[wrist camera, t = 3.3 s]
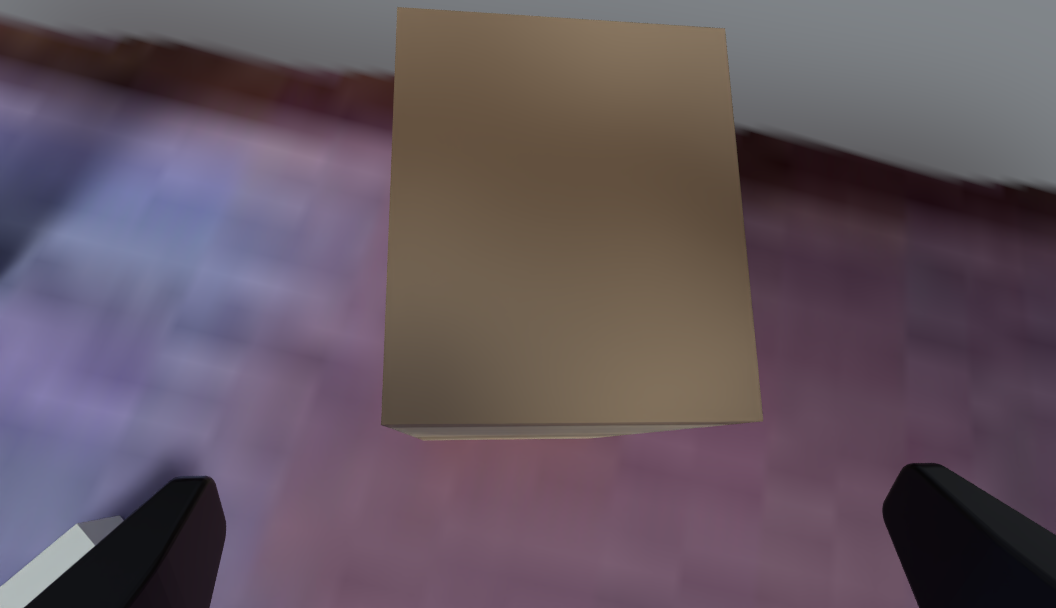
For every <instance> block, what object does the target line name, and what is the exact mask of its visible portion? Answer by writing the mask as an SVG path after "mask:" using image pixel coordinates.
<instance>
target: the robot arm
mask: <svg viewBox="0 0 1056 608" xmlns="http://www.w3.org/2000/svg"><path fill="white" fill-rule="evenodd" d="M882 512H883V519H884V522H885V525H886V527H887V530H888V532H889V535H890V537H891V540H892V542H893V544H894V547H895V549H896V552H897V554H898V557H899V559H900V562H901V564H902V567H903V569H904V572H905V574H906V577H907V579H908V581H909V584H910V586H911V589H912V591H913V594H914V596H915V599H916V601H917V604H918V606H919V608H1056V535H1055V534H1053V533H1051V532H1050V531H1048V530H1047V529H1045V528H1043V527H1042V526H1040V525H1038V524H1037V523H1035V522H1034V521H1032V520H1030V519H1029V518H1027V517H1025V516H1024V515H1022V514H1021V513H1019V512H1017V511H1016V510H1014V509H1012V508H1011V507H1009V506H1008V505H1006V504H1004V503H1003V502H1001V501H1000V500H998V499H996V498H995V497H993V496H991V495H990V494H988V493H987V492H985V491H983V490H982V489H980V488H978V487H977V486H975V485H974V484H972V483H970V482H969V481H967V480H965V479H964V478H962V477H961V476H959V475H957V474H956V473H954V472H953V471H951V470H949V469H948V468H946V467H944V466H942V465H940V464H936V463H911V464H907V465H906V466H904V467H903V468H902V470H901V471H900V473H899V475H898V477H897V478H896V480H895V482H894V484H893V486H892V488H891V489H890V491H889V493H888V495H887V497H886V499H885V500H884V503H883V508H882ZM225 537H226V520H225V516H224V512H223V509H222V505H221V502H220V498H219V494H218V491H217V487H216V484H215V482H214V480H213V479H212V478H211V477H208V476H181V477H176V478H174V479H172V480H170V481H169V482H168V483H167V484H165V485H164V486H163V487H162V488H161V489H160V490H158V491H157V492H156V493H155V494H154V495H153V496H152V497H150V498H149V499H148V500H147V501H146V502H145V503H144V504H142V505H141V506H140V507H139V508H138V509H137V510H135V511H134V512H133V513H132V514H131V515H130V516H129V517H127V518H126V519H125V520H124V521H123V522H122V523H120V524H119V525H118V526H117V527H116V528H115V529H114V530H112V531H111V532H110V533H109V534H108V535H107V536H105V537H104V538H103V539H102V540H101V541H100V542H99V543H97V544H96V545H95V546H94V547H93V548H92V549H91V550H89V551H88V552H87V553H86V554H85V555H84V556H82V557H81V558H80V559H79V560H78V561H77V562H76V563H74V564H73V565H72V566H71V567H70V568H69V569H67V570H66V571H65V572H64V573H63V574H62V575H61V576H59V577H58V578H57V579H56V580H55V581H54V582H52V583H51V584H50V585H49V586H48V587H47V588H46V589H44V590H43V591H42V592H41V593H40V594H39V595H38V596H36V597H35V598H34V599H33V600H32V601H31V602H29V603H28V604H27V605H26V606H25V607H24V608H209V607H210V603H211V599H212V594H213V590H214V586H215V581H216V577H217V573H218V568H219V564H220V560H221V555H222V551H223V547H224V542H225Z"/></svg>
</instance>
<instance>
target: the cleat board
mask: <svg viewBox="0 0 1056 608" xmlns="http://www.w3.org/2000/svg"><path fill="white" fill-rule="evenodd" d="M123 521H124V520H123V519H122V518H121V517H120V515H119V516H114V517H109V518H104V519H98V520H93V521H88V522H83V523H77V524H76V525H74V526H73V527H72V528H71V529H70V530H68V531H67V532H66V533H65V534H64V535H62V536H61V537H60V538H59V539H58V540H56V541H55V542H54V543H53V544H52V545H50V546H49V547H48V548H47V549H46V550H44V551H43V552H42V553H41V554H40V555H38V556H37V557H36V558H35V559H34V560H32V561H31V562H30V563H29V564H28V565H26V566H25V567H24V568H23V569H22V570H20V571H19V572H18V573H17V574H16V575H14V576H13V577H12V578H11V579H9V580H8V581H7V582H6V583H5V584H3V585H2V586H1V587H0V608H24V607H25V606H26V605H27V604H28V603H29V602H31V601H32V600H33V599H34V598H35V597H36V596H38V595H39V594H40V593H41V592H42V591H43V590H44V589H46V588H47V587H48V586H49V585H50V584H51V583H52V582H54V581H55V580H56V579H57V578H58V577H59V576H61V575H62V574H63V573H64V572H65V571H66V570H67V569H69V568H70V567H71V566H72V565H73V564H74V563H76V562H77V561H78V560H79V559H80V558H81V557H82V556H84V555H85V554H86V553H87V552H88V551H89V550H91V549H92V548H93V547H94V546H95V545H96V544H97V543H99V542H100V541H101V540H102V539H103V538H104V537H105V536H107V535H108V534H109V533H110V532H111V531H112V530H114V529H115V528H116V527H117V526H118V525H119V524H120V523H122V522H123Z"/></svg>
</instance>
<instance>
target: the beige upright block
mask: <svg viewBox="0 0 1056 608" xmlns="http://www.w3.org/2000/svg"><path fill="white" fill-rule="evenodd" d="M760 421H763V415H762V404H761V394H760V384H759V373H758V363H757V353H756V343H755V332H754V322H753V312H752V302H751V291H750V281H749V271H748V260H747V250H746V240H745V230H744V219H743V209H742V199H741V189H740V178H739V168H738V158H737V147H736V137H735V127H734V117H733V106H732V97H731V86H730V76H729V66H728V55H727V46H726V34H725V28H710V27H694V26H679V25H678V26H677V25H664V24H648V23H633V22H617V21H601V20H586V19H571V18H556V17H555V18H554V17H540V16H525V15H510V14H509V15H508V14H494V13H477V12H463V11H462V12H461V11H447V10H433V9H432V10H431V9H416V8H401V7H398V8H397V30H396V56H395V82H394V107H393V133H392V159H391V185H390V211H389V236H388V262H387V288H386V314H385V340H384V366H383V391H382V417H381V425H384V426H386V427H389V428H392V429H394V430H397V431H400V432H402V433H405V434H408V435H411V436H413V437H416V438H419V439H421V440H485V439H569V438H598V437H608V436H618V435H628V434H638V433H649V432H659V431H669V430H679V429H689V428H699V427H709V426H719V425H729V424H739V423H750V422H760Z"/></svg>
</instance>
